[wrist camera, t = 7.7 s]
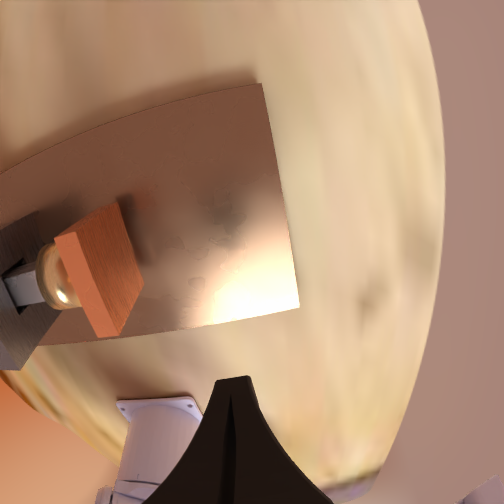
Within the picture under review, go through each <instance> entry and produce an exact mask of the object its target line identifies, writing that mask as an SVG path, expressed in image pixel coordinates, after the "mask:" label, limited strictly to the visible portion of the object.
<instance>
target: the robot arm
mask: <svg viewBox="0 0 504 504" xmlns="http://www.w3.org/2000/svg"><path fill="white" fill-rule="evenodd" d="M116 406H117V407H118V409H119V410H120V411H121V413H122V414H123V415H124V417H125V418H126V419H127V420H128V422H129V423H130V424H129V428H128V432H127V437H126V441H125V445H124V449H123V454H122V458H121V462H120V467H119V472H118V476H117V480H116V482H115V486H114V490H113V491H112V487H110V486H107V485H106V486H105V487H103V488H100V489H99V490H98V493H97V497H96V501H95V504H334V503H333V502H332V501H331V499H330V498H328V497H327V496H326V495H325V494H324V493H323V492H322V491H321V490H320V489H318V488H317V487H316V486H315V485H314V484H313V483H312V482H311V481H310V480H309V479H308V478H307V477H306V476H305V474H304V473H303V472H302V471H301V470H300V469H299V468H298V466H297V465H296V464H295V463H294V462H293V461H292V459H291V458H290V457H289V456H288V454H287V453H286V452H285V450H284V449H283V447H282V446H281V445H280V443H279V442H278V440H277V439H276V437H275V436H274V434H273V432H272V431H271V429H270V427H269V426H268V424H267V422H266V420H265V418H264V416H263V414H262V412H261V410H260V408H259V404H258V400H257V397H256V394H255V390H254V387H253V384H252V380H251V377H250V376H247V375H246V376H240V377H234V378H228V379H221V380H217V381H216V382H215V385H214V388H213V391H212V394H211V397H210V400H209V403H208V405H207V408H206V410H205V413H204V415H202V414H201V412H200V410H199V408H198V406H197V404H196V402H195V401H194V399H193V398H192V397H189V396H186V397H175V398H162V399H145V400H119V401H117V402H116ZM454 504H504V485H503V483H502V482H501V480H500V478H499V476H498V475H497V474H495V475H494V476H492V477H491V478H490V479H488V480H487V481H485V482H484V483H482V484H481V485H479V486H478V487H476V488H475V489H473V490H472V491H470V492H469V493H468V494H466V495H465V496H464V498H462V499H461V500H459V501H458V502H456V503H454Z"/></svg>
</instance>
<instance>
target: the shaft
mask: <svg viewBox="0 0 504 504" xmlns="http://www.w3.org/2000/svg"><path fill="white" fill-rule="evenodd" d="M54 240H55V242H53V243H50V244H47V245H45V246H44V247H42V249H41V250H40V251H39V253H38V256H37V259H36V261H35V262H32V263H29V264H25V265H22V266H19V267H15V268H12V269H9V270H6V271H5V272H4V273H2V274H1V275H0V276H1V278H2V281H3V283H4V285H5V287H6V290H7V292H8V294H9V296H10V298H11V300H12V302H13V304H14V306H15V307H17V306H23V305H28V304H34V303H39V302H44V301H46V302H47V304H48V305H50V306H51V307H52V308H54V309H57V310H64V309H70V308H76V307H83V309H84V311H85V313H86V315H87V317H88V319H89V321H90V323H91V325H92V327H93V329H94V331H95V333H96V335H97V337H98V338H102V337H111V336H119V335H120V333H121V331H122V329H123V327H124V324H125V322H126V320H127V318H128V316H129V314H130V312H131V310H132V308H133V306H134V304H135V302H136V300H137V298H138V296H139V294H140V292H141V290H142V288H143V286H144V284H145V283H144V281H143V278H142V275H141V272H140V270H139V267H138V264H137V261H136V258H135V255H134V253H133V250H132V247H131V244H130V241H129V238H128V235H127V231H126V228H125V225H124V222H123V219H122V215H121V212H120V209H119V205H118V202H115V203H112V204H109V205H105V206H102V207H99V208H97V209H96V210H94V211H93V212H91V213H90V214H88V215H87V216H85V217H84V218H82V219H81V220H79V221H78V222H76V223H75V224H73V225H72V226H70V227H69V228H67V229H66V230H65V231H63V232H62V233H60V234H59V235H57V236H56V237H55V238H54Z"/></svg>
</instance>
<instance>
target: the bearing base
mask: <svg viewBox="0 0 504 504" xmlns="http://www.w3.org/2000/svg"><path fill="white" fill-rule="evenodd" d="M115 202H118V205H119V209H120V212H121V215H122V219H123V222H124V225H125V228H126V231H127V235H128V238H129V241H130V244H131V247H132V250H133V253H134V255H135V258H136V261H137V264H138V267H139V270H140V272H141V275H142V278H143V281H144V283H145V284H144V286H143V288H142V290H141V292H140V294H139V296H138V298H137V300H136V302H135V304H134V306H133V308H132V310H131V312H130V314H129V316H128V318H127V320H126V322H125V324H124V327H123V329H122V331H121V333H120V335H119V336H111V337H102V338H98V337H97V335H96V333H95V331H94V329H93V327H92V325H91V323H90V321H89V319H88V317H87V315H86V313H85V311H84V309H83V307H76V308H70V309H64V310H57V309H54V308H52V307H51V306H50V305H48V304H47V302H46V301H44V302H39V303H34V304H28V305H23V306H17V307H15V306H14V304H13V302H12V300H11V298H10V296H9V294H8V292H7V290H6V287H5V285H4V283H3V281H2V278H1V276H0V370H21V368H22V367H23V365H24V364H25V362H26V361H27V359H28V358H29V356H30V355H31V354H32V352H33V351H34V349H35V348H36V346H40V345H54V344H66V343H78V342H88V341H98V340H107V339H116V338H124V337H132V336H140V335H147V334H154V333H161V332H168V331H175V330H181V329H188V328H194V327H200V326H206V325H212V324H217V323H223V322H228V321H234V320H239V319H244V318H250V317H255V316H260V315H265V314H270V313H274V312H279V311H284V310H289V309H293V308H298V307H299V300H298V292H297V285H296V278H295V271H294V264H293V257H292V250H291V244H290V237H289V231H288V225H287V218H286V212H285V206H284V200H283V194H282V188H281V183H280V177H279V171H278V166H277V160H276V155H275V149H274V144H273V138H272V133H271V128H270V123H269V118H268V113H267V108H266V103H265V98H264V93H263V88H262V83H260V84H253V85H247V86H242V87H236V88H231V89H226V90H221V91H216V92H211V93H207V94H202V95H198V96H194V97H190V98H186V99H182V100H178V101H175V102H171V103H167V104H164V105H160V106H157V107H154V108H150V109H147V110H144V111H141V112H138V113H135V114H132V115H129V116H126V117H123V118H120V119H117V120H115V121H112V122H109V123H106V124H104V125H101V126H99V127H96V128H94V129H91V130H89V131H86V132H84V133H81V134H79V135H77V136H74V137H72V138H70V139H68V140H65V141H63V142H61V143H59V144H57V145H55V146H52V147H50V148H48V149H46V150H44V151H42V152H40V153H38V154H36V155H34V156H32V157H30V158H28V159H27V160H25V161H23V162H21V163H19V164H17V165H16V166H14V167H12V168H10V169H9V170H7V171H5V172H3V173H2V174H0V275H1V274H2V273H4V272H5V271H6V270H9V269H12V268H15V267H19V266H22V265H25V264H29V263H32V262H35V261H36V259H37V256H38V253H39V251H40V250H41V249H42V247H44V246H45V245H47V244H50V243H53V242H55V240H54V238H55V237H56V236H57V235H59V234H60V233H62V232H63V231H65V230H66V229H67V228H69V227H70V226H72V225H73V224H75V223H76V222H78V221H79V220H81V219H82V218H84V217H85V216H87V215H88V214H90V213H91V212H93V211H94V210H96V209H97V208H99V207H102V206H105V205H109V204H112V203H115Z"/></svg>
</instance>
